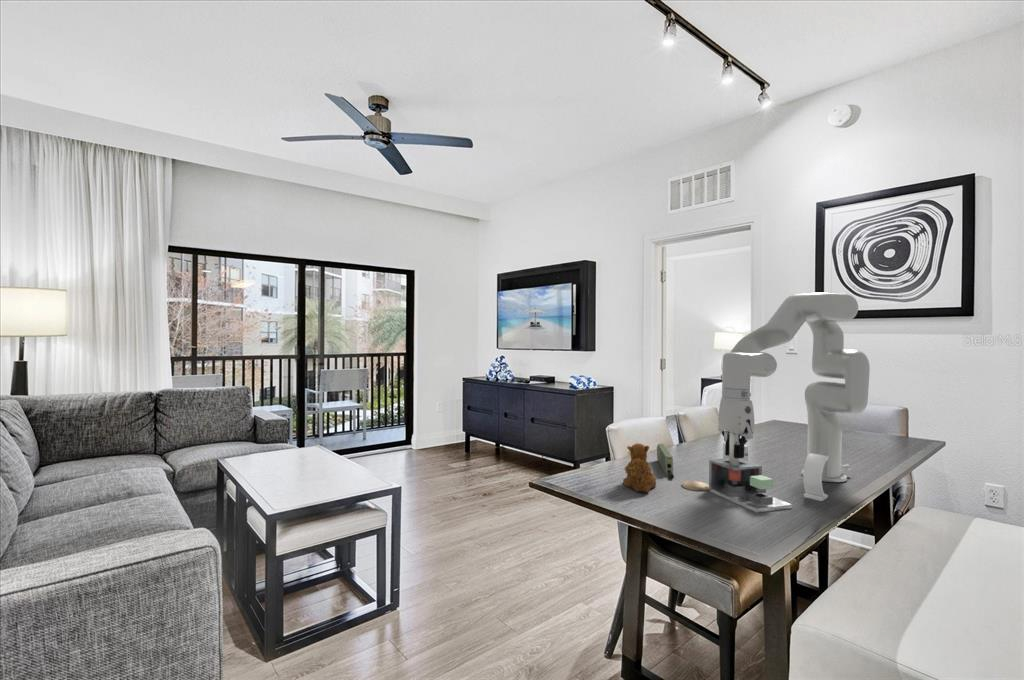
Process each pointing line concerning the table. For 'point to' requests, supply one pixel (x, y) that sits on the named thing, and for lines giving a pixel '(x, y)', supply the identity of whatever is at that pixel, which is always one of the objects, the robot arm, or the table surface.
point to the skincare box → (740, 458)
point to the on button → (761, 483)
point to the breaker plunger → (735, 476)
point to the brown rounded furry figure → (639, 470)
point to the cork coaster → (695, 485)
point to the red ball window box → (741, 486)
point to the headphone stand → (814, 476)
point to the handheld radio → (665, 460)
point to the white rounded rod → (732, 451)
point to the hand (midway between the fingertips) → (734, 455)
